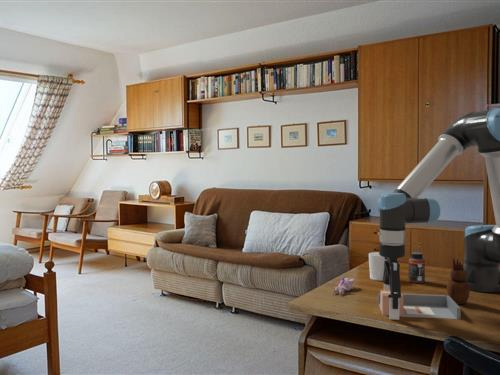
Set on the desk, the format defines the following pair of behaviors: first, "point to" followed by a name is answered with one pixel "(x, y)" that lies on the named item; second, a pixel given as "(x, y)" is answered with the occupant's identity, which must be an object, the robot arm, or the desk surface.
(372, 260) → the white cup
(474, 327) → the desk surface
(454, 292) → the wooden figurine
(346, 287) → the rabbit figure
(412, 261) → the supplement bottle
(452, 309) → the tray
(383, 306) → the cube
